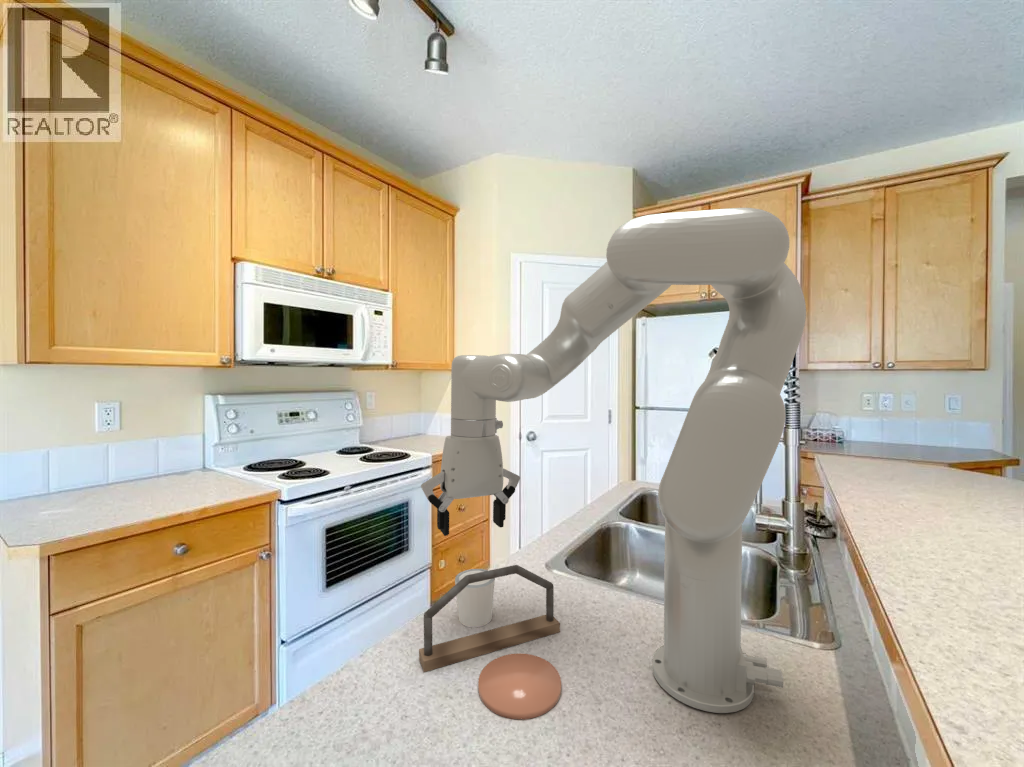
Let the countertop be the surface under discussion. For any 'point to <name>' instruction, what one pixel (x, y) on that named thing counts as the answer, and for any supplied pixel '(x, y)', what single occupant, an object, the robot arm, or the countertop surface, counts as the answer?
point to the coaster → (519, 686)
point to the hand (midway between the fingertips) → (472, 528)
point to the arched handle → (492, 638)
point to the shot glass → (475, 600)
